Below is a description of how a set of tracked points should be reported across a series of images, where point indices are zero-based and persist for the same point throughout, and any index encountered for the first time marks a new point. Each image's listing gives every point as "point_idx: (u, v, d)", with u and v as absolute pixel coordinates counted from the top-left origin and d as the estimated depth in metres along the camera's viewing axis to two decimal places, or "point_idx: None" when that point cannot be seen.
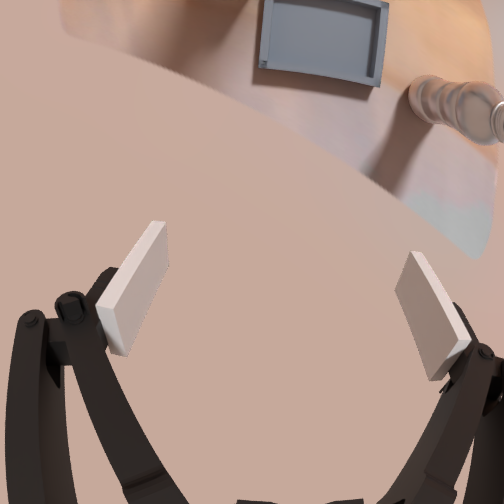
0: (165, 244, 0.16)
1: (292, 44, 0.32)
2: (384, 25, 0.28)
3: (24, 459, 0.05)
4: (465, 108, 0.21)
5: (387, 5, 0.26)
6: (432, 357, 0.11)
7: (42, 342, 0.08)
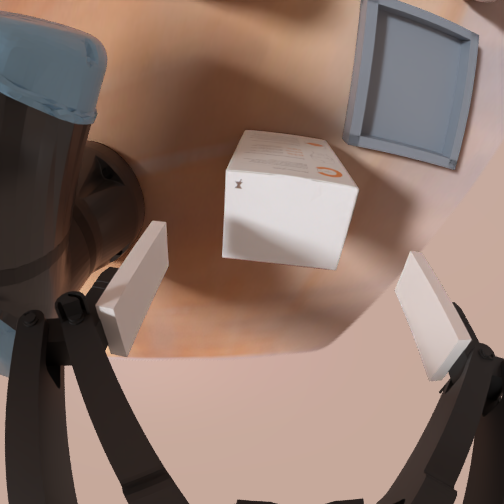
0: (165, 244, 0.16)
1: (426, 122, 0.26)
2: (404, 6, 0.18)
3: (24, 459, 0.05)
4: None
5: None
6: (432, 357, 0.11)
7: (42, 342, 0.08)
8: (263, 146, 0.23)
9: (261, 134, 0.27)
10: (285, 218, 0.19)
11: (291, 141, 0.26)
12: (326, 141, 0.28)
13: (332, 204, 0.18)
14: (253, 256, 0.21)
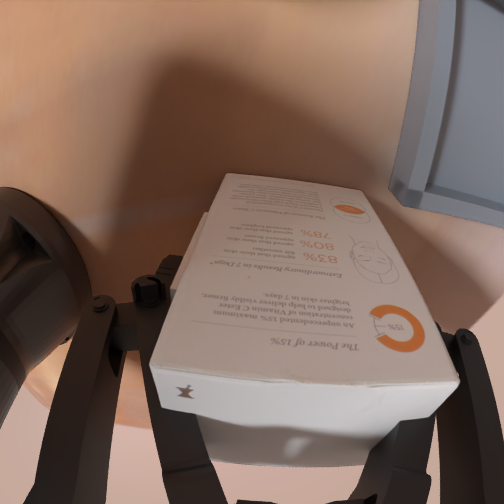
0: None
1: None
2: None
3: (64, 443, 0.06)
4: None
5: None
6: None
7: (108, 330, 0.09)
8: (254, 231, 0.12)
9: (253, 186, 0.15)
10: (294, 436, 0.08)
11: (308, 205, 0.14)
12: None
13: (398, 413, 0.07)
14: (232, 461, 0.09)
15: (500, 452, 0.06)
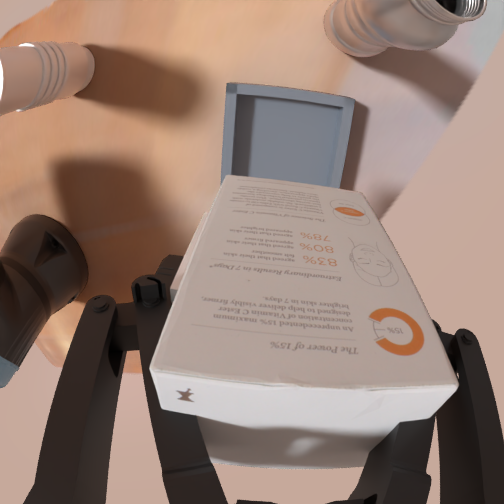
0: None
1: None
2: (263, 89, 0.26)
3: (64, 442, 0.06)
4: (413, 43, 0.12)
5: (230, 85, 0.26)
6: None
7: (109, 330, 0.09)
8: (253, 234, 0.12)
9: (253, 188, 0.16)
10: (293, 439, 0.08)
11: (308, 207, 0.14)
12: None
13: (397, 416, 0.07)
14: (232, 463, 0.09)
15: (500, 451, 0.06)
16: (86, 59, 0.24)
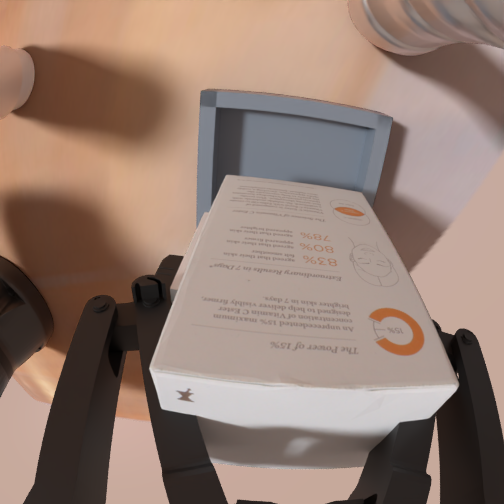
0: None
1: None
2: (257, 100, 0.17)
3: (64, 443, 0.06)
4: None
5: (207, 94, 0.17)
6: None
7: (109, 330, 0.09)
8: (254, 234, 0.12)
9: (253, 188, 0.16)
10: (294, 438, 0.08)
11: (308, 207, 0.14)
12: None
13: (397, 416, 0.07)
14: (232, 463, 0.09)
15: (500, 452, 0.06)
16: (19, 67, 0.16)
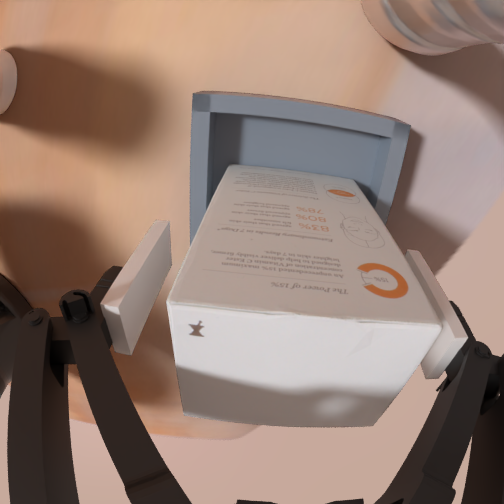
0: (168, 243, 0.16)
1: None
2: (257, 104, 0.15)
3: (26, 458, 0.05)
4: None
5: (200, 97, 0.15)
6: (429, 355, 0.12)
7: (46, 341, 0.09)
8: (255, 207, 0.13)
9: (254, 174, 0.17)
10: (294, 381, 0.09)
11: (303, 188, 0.16)
12: (355, 182, 0.18)
13: (388, 356, 0.08)
14: (236, 419, 0.11)
15: None
16: (0, 70, 0.13)
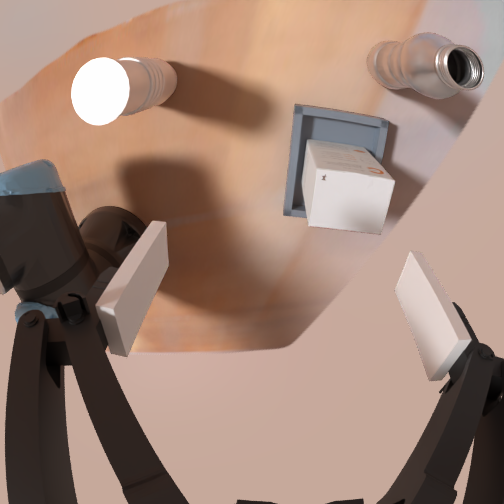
0: (165, 244, 0.16)
1: None
2: (323, 112, 0.35)
3: (24, 459, 0.05)
4: (436, 96, 0.21)
5: (298, 107, 0.35)
6: (432, 357, 0.11)
7: (42, 342, 0.08)
8: (328, 152, 0.33)
9: (321, 143, 0.37)
10: (351, 199, 0.29)
11: (343, 149, 0.35)
12: None
13: (379, 190, 0.28)
14: (329, 225, 0.31)
15: None
16: (173, 75, 0.34)
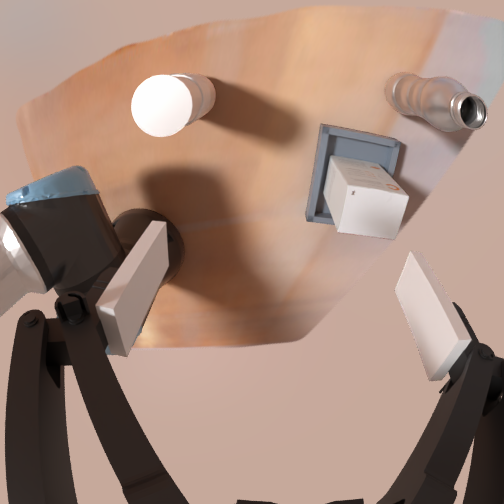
0: (165, 244, 0.16)
1: None
2: (346, 132, 0.40)
3: (24, 459, 0.05)
4: (447, 129, 0.27)
5: (325, 128, 0.40)
6: (432, 357, 0.11)
7: (42, 342, 0.08)
8: (352, 169, 0.39)
9: (342, 159, 0.42)
10: (373, 211, 0.35)
11: (362, 165, 0.41)
12: None
13: (396, 204, 0.34)
14: (354, 231, 0.36)
15: None
16: (214, 91, 0.39)
